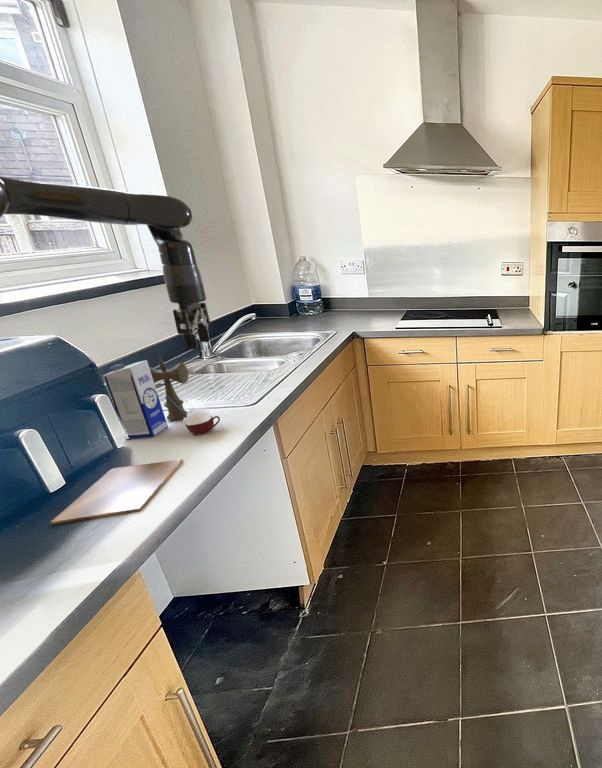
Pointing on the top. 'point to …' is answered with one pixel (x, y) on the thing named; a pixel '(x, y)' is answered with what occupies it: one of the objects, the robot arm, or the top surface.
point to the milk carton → (136, 399)
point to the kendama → (176, 374)
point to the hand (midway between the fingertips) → (199, 345)
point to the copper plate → (119, 491)
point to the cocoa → (196, 419)
